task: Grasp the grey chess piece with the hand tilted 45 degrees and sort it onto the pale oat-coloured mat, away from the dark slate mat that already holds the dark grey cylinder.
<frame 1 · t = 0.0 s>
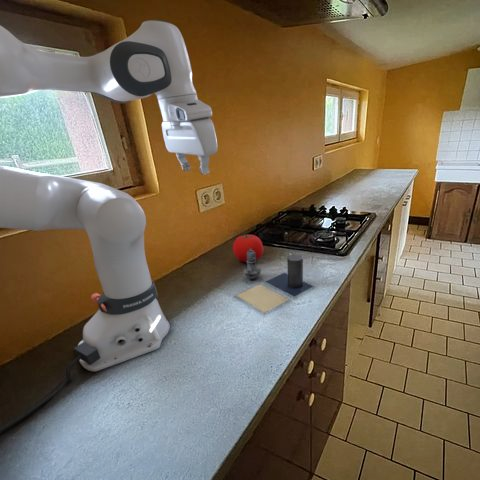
hand: (195, 172, 77), 39 cm above the worktop, tool pointing down, fingers open, 8 cm apart
oat mat: (261, 298, 95), on the worktop
tomato: (248, 260, 121), on the worktop
dark grey cylinder: (295, 284, 101), resting on slate mat
grey chess piece: (253, 280, 107), on the worktop
slate mat: (289, 285, 102), on the worktop
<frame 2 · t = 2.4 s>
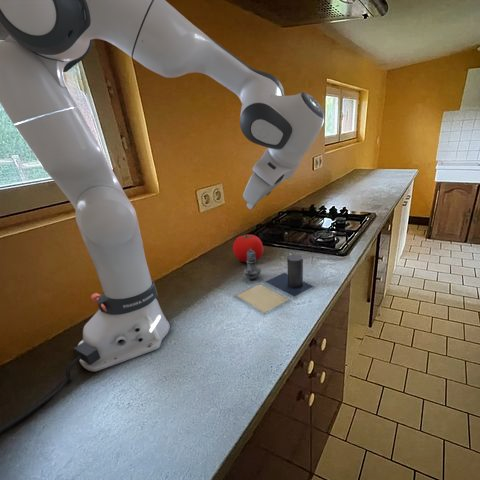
hand: (258, 200, 86), 30 cm above the worktop, tool tilted 40°, fingers open, 8 cm apart
nothing on the worktop moved.
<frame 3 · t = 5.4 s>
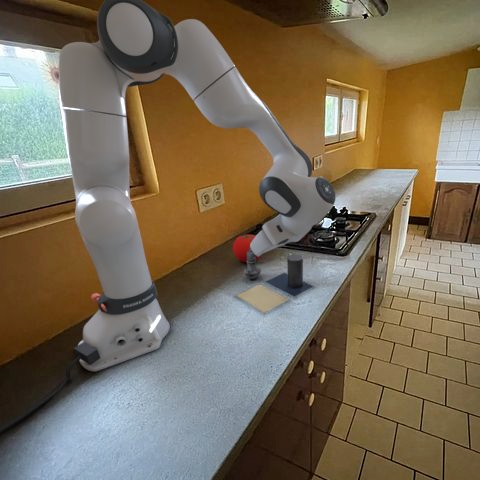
hand: (269, 249, 94), 14 cm above the worktop, tool tilted 45°, fingers open, 8 cm apart
nothing on the worktop moved.
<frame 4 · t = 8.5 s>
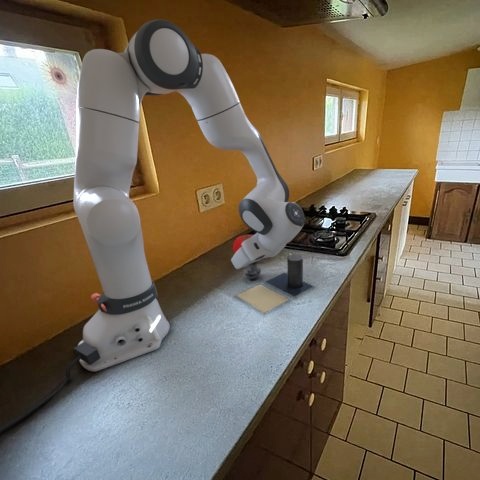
hand: (250, 262, 104), 7 cm above the worktop, tool tilted 45°, fingers closed on grey chess piece, 3 cm apart
grey chess piece: (253, 280, 107), on the worktop, touching gripper
everything else where it was.
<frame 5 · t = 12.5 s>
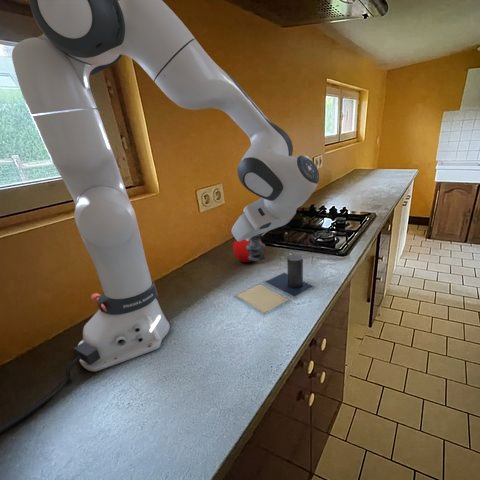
hand: (253, 236, 90), 19 cm above the worktop, tool tilted 45°, fingers closed on grey chess piece, 3 cm apart
grey chess piece: (256, 257, 93), point 12 cm above the worktop, touching gripper
everything else where it was.
when the fingers open (7 cm above the worktop, at t = 16.7 s): grey chess piece stays where it is, resting on oat mat.
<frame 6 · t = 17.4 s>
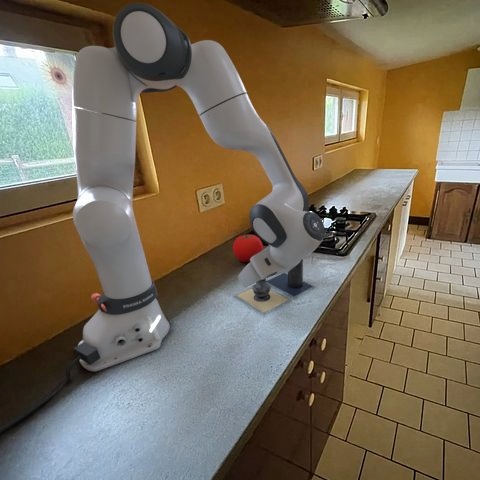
hand: (259, 277, 92), 7 cm above the worktop, tool tilted 45°, fingers open, 8 cm apart
grey chess piece: (262, 297, 95), resting on oat mat
everything else where it was.
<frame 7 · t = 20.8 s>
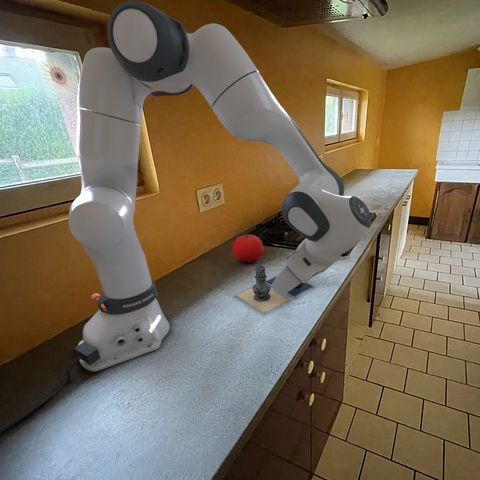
hand: (286, 281, 81), 11 cm above the worktop, tool tilted 40°, fingers open, 8 cm apart
nothing on the worktop moved.
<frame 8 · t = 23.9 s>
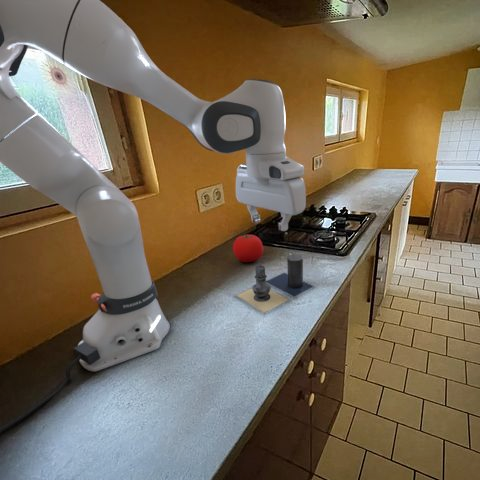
hand: (269, 226, 73), 27 cm above the worktop, tool pointing down, fingers open, 8 cm apart
nothing on the worktop moved.
at the end: grey chess piece inside the target area on the oat mat (0.1 cm from its centre), point 0.3 cm above the oat mat's base; grey chess piece tilted 0°; dark grey cylinder inside the target area on the slate mat (2.2 cm from its centre), point 0.5 cm above the slate mat's base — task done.
